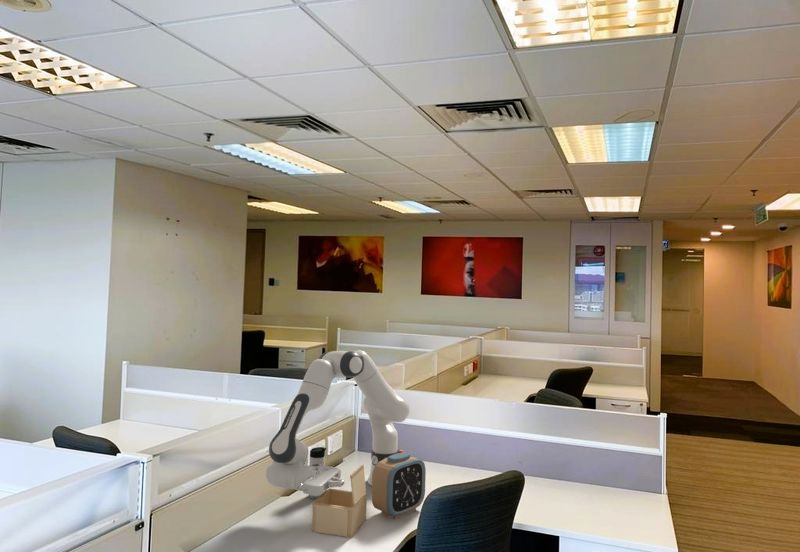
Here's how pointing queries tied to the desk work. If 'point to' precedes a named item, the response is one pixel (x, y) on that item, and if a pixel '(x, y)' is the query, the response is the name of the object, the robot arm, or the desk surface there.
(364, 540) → the desk surface
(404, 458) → the alarm clock
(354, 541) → the desk surface
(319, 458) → the travel mug
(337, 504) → the carton
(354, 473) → the flap
